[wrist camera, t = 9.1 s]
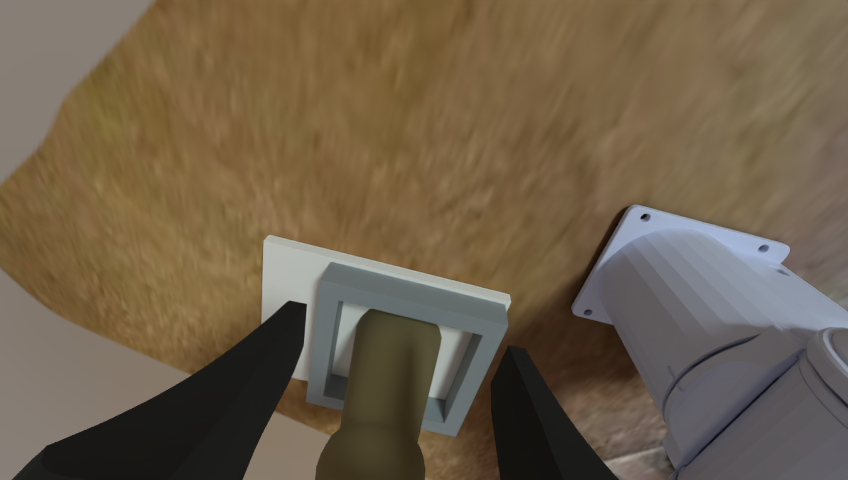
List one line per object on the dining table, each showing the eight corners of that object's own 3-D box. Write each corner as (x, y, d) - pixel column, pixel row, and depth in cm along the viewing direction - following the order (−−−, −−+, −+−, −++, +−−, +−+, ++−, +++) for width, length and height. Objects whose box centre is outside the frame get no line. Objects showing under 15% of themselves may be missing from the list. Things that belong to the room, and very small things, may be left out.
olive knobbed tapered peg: (412, 379, 28) (387, 559, 18) (341, 342, 27) (275, 516, 17) (459, 330, 25) (459, 512, 16) (382, 287, 24) (331, 456, 14)
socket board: (509, 294, 24) (515, 323, 22) (458, 407, 30) (458, 440, 28) (269, 234, 24) (247, 257, 21) (264, 362, 30) (247, 391, 27)
